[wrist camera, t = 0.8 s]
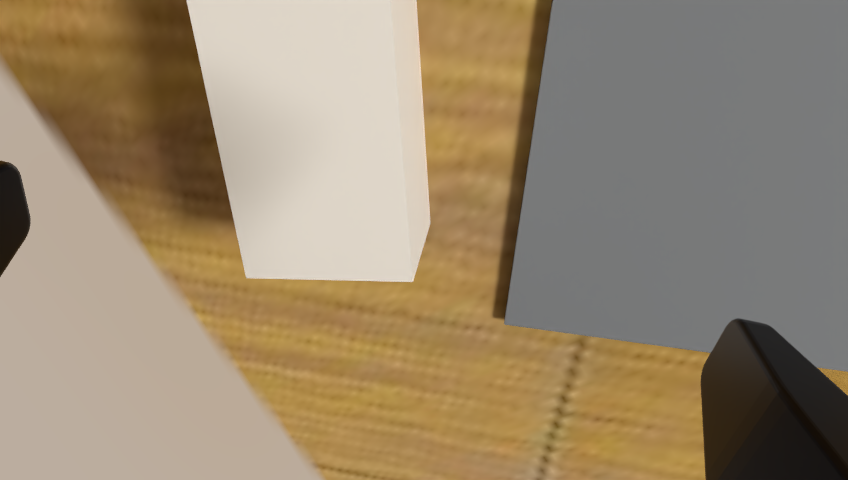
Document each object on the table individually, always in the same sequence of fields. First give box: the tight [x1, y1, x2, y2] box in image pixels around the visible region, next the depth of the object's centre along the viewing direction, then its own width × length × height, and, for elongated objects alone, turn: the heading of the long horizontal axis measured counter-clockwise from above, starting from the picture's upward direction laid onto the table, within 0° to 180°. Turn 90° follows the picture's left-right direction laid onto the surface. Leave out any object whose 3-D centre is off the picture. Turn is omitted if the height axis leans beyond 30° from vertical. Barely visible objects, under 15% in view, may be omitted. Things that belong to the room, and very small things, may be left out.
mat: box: [504, 0, 848, 372], centre depth 18 cm, size 18×14×1 cm
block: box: [187, 0, 430, 282], centre depth 19 cm, size 10×5×4 cm, turn 3°
